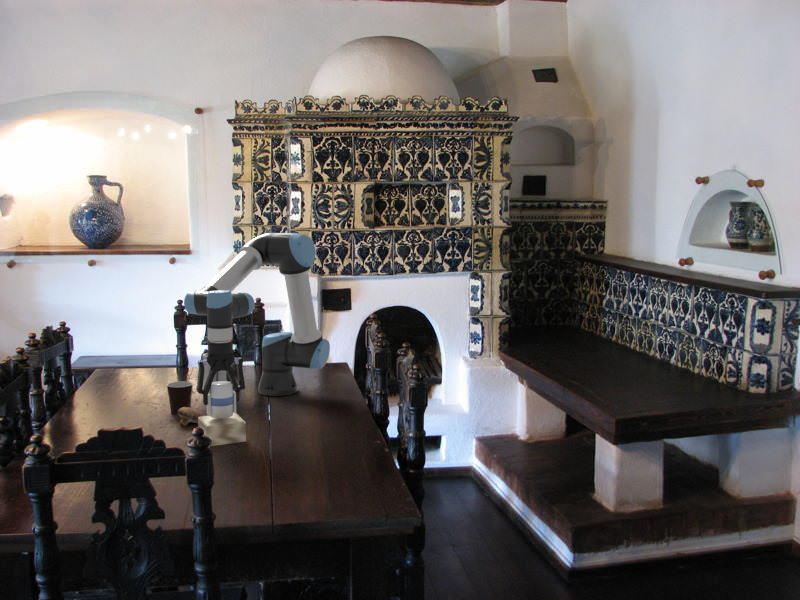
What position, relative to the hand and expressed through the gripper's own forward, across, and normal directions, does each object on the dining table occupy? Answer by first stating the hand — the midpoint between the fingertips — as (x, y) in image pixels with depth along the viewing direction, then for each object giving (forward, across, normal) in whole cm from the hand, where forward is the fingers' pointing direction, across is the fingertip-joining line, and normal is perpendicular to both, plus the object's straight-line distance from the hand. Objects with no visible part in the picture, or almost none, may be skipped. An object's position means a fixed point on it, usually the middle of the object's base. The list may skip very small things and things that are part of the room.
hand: (221, 413), depth 234 cm
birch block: (+8, 0, 0) cm, 8 cm away
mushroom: (+8, +6, -20) cm, 23 cm away
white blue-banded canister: (+1, 0, 0) cm, 1 cm away
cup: (+8, -15, -74) cm, 76 cm away
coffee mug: (+8, +5, -37) cm, 38 cm away
